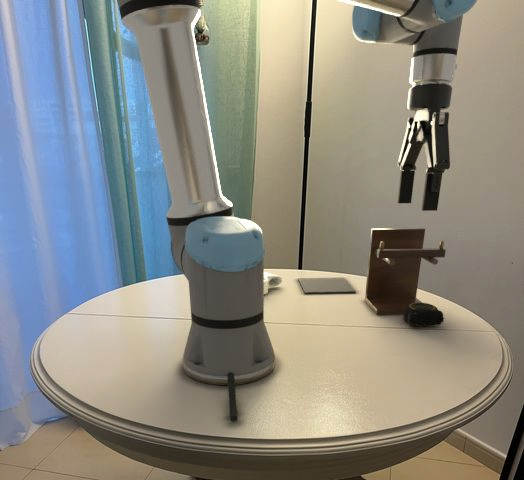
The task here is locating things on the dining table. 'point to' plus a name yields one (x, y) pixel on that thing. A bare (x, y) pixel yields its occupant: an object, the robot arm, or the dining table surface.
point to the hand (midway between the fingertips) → (415, 206)
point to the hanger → (411, 252)
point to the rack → (393, 270)
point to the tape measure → (422, 314)
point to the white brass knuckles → (271, 281)
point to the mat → (325, 285)
